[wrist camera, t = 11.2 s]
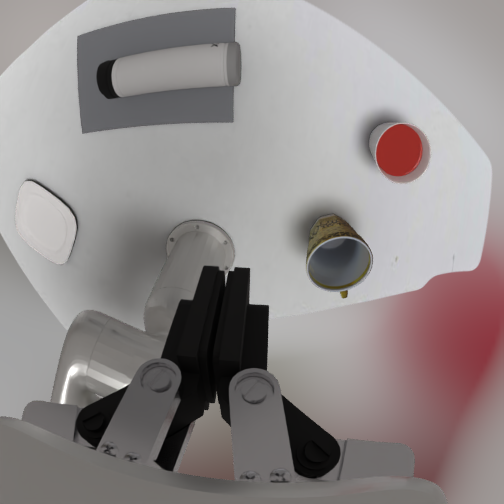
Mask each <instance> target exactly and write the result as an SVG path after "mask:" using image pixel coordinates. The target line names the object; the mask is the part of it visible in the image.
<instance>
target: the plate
mask: <svg viewBox="0 0 504 504" xmlns="http://www.w3.org/2000/svg"><path fill="white" fill-rule="evenodd" d="M15 224H16V228H17V231H18V233H19V234H20V236H21V237H22V239H23V240H24V241H25V242H26V243H27V244H28V245H29V246H31V247H32V248H33V249H34V250H36V251H37V252H38V253H39V254H41V255H42V256H44V257H45V258H46V259H48V260H50V261H51V262H53V263H56V264H59V265H62V264H64V263H66V262H67V260H68V258H69V256H70V254H71V250H72V247H73V244H74V241H75V237H76V231H77V224H76V218H75V216H74V215H73V213H72V212H71V210H70V208H69V207H67V206H66V205H65V204H64V203H63V202H62V201H61V200H60V199H58V198H57V197H56V196H54V195H53V194H52V193H50V192H49V191H48V190H46V189H45V188H44V187H42V186H41V185H39V184H37V183H35V182H34V181H25V182H24V183H23V184H22V185H21V187H20V191H19V194H18V199H17V205H16V212H15Z"/></svg>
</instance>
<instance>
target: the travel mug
mask: <svg viewBox="0 0 504 504" xmlns="http://www.w3.org/2000/svg"><path fill="white" fill-rule="evenodd" d="M96 79H97V85H98V88H99V91H100V92H101V94H102V95H104V96H105V97H106V98H107V99H115V98H120V97H127V96H133V95H140V94H146V93H153V92H161V91H169V90H178V89H189V88H202V87H221V86H226V85H227V86H238V85H239V84H240V80H241V51H240V45H239V44H238V43H237V42H231V43H226V44H225V43H213V44H201V45H191V46H182V47H175V48H168V49H161V50H156V51H150V52H145V53H139V54H135V55H130V56H125V57H121V58H118V59H115V60H108V61H105V62H103V63H101V64H100V65H99V67H98V69H97V75H96Z"/></svg>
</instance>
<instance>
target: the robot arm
mask: <svg viewBox="0 0 504 504" xmlns="http://www.w3.org/2000/svg"><path fill="white" fill-rule="evenodd" d="M197 225H198V226H197ZM225 240H226V241H225ZM166 252H167V256H168V259H167V261H166V263H165V265H164V267H163V269H162V271H161V273H160V275H159V277H158V279H157V281H156V283H155V285H154V288H153V290H152V292H151V294H150V296H149V298H148V301H147V303H146V306H145V309H144V324H145V329H146V331H141V330H139V329H137V328H135V327H132V326H130V325H128V324H126V323H123V322H121V321H119V320H117V319H115V318H112V317H110V316H108V315H106V314H103V313H101V312H98V311H95V310H86V311H83V312H81V313H80V314H79V315H77V317H76V318H75V319H74V320H73V322H72V324H71V326H70V328H69V330H68V332H67V335H66V338H65V341H64V344H63V348H62V351H61V355H60V359H59V364H58V368H57V373H56V377H55V381H54V386H53V391H52V396H51V402H45V401H32V402H30V403H28V404H27V406H26V407H25V409H24V411H23V415H22V420H19V419H16V418H11V417H0V504H448V502H447V499H446V497H445V494H444V492H443V491H442V489H441V488H440V487H439V486H438V485H437V484H435V483H433V482H430V481H427V480H424V479H419V478H414V477H413V474H414V463H415V459H414V453H413V452H412V450H411V448H409V447H408V446H407V445H404V444H401V443H387V442H374V441H364V440H355V439H347V440H340V439H335V438H334V437H332V436H331V435H330V434H329V433H328V432H326V431H325V430H324V429H322V428H321V427H320V426H319V425H317V424H316V423H315V422H314V421H312V420H311V419H310V418H309V417H308V416H306V415H305V414H304V413H303V412H301V411H300V410H299V409H298V408H297V407H296V406H294V405H293V404H292V403H291V402H290V401H288V400H287V399H286V398H285V397H284V396H283V395H281V390H280V386H279V383H278V380H277V379H276V378H275V377H274V375H272V374H271V373H269V372H268V371H267V353H268V319H269V305H253V304H249V291H250V268H239V267H235V269H234V271H229V270H230V269H231V267H232V265H233V262H234V257H235V250H234V246H233V243H232V241H231V239H230V238H229V236H228V235H227V234H226V233H225V232H224V231H223V230H222V229H220V228H219V227H217V226H216V225H214V224H211V223H209V222H205V221H188V222H185V223H182V224H180V225H179V226H177V227H176V228H175V229H174V230H173V231H172V232H171V234H170V235H169V237H168V240H167V243H166ZM228 271H229V272H228ZM227 272H228V277H227V282H226V287H225V274H226V273H227ZM216 392H217V396H218V401H219V404H220V409H221V415H222V418H223V419H224V420H225V421H226V422H227V423H228V424H229V425H230V427H231V434H232V448H233V462H234V474H235V481H233V480H223V479H214V478H206V477H200V476H193V475H187V474H181V473H177V471H178V469H179V466H180V463H181V461H182V458H183V455H184V453H185V450H186V447H187V444H188V442H189V439H190V436H191V433H192V431H193V428H194V425H195V420H196V419H198V418H200V417H201V416H203V413H204V410H208V409H209V403H215V399H216ZM96 394H97V395H100V396H102V397H104V398H102V399H101V398H99V397H98V396H96Z"/></svg>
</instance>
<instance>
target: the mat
mask: <svg viewBox="0 0 504 504" xmlns="http://www.w3.org/2000/svg"><path fill="white" fill-rule="evenodd" d="M235 10H236V9H235V8H217V9H203V10H193V11H184V12H176V13H169V14H163V15H157V16H152V17H146V18H142V19H137V20H132V21H128V22H124V23H120V24H116V25H112V26H109V27H105V28H102V29H98V30H95V31H92V32H89V33H86V34H83V35H80V36H78V37H77V68H78V91H79V105H80V116H81V126H82V134H83V133H89V132H96V131H102V130H110V129H118V128H127V127H136V126H147V125H160V124H177V123H206V122H233V93H234V86H227V85H226V86H221V87H202V88H189V89H178V90H169V91H161V92H153V93H146V94H140V95H133V96H127V97H120V98H115V99H107V98H106V97H105V96H104V95H102V94H101V92H100V91H99V88H98V85H97V79H96V75H97V69H98V67H99V65H100V64H101V63H103V62H105V61H108V60H115V59H118V58H121V57H125V56H130V55H135V54H139V53H145V52H150V51H156V50H161V49H168V48H175V47H182V46H191V45H201V44H213V43H225V44H226V43H231V42H235Z"/></svg>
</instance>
